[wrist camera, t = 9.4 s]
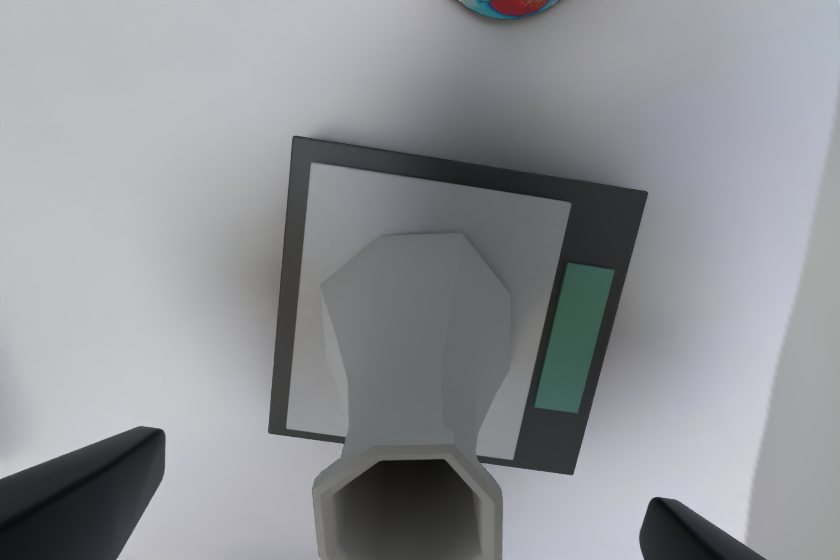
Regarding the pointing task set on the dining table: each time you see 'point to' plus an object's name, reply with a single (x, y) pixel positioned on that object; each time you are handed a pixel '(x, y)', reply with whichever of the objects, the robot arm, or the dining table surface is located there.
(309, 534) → the dining table surface
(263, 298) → the dining table surface
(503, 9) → the beverage can
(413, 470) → the flask
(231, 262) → the dining table surface
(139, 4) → the dining table surface
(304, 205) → the scale
